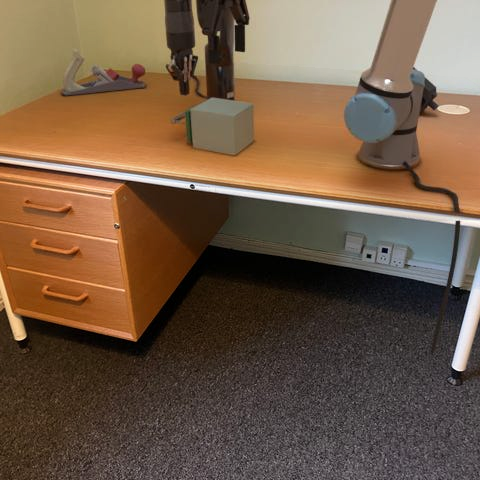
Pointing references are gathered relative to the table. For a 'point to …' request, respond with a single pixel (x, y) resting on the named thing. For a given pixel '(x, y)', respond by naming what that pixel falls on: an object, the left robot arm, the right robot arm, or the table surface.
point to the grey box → (222, 125)
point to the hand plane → (105, 80)
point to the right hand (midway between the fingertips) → (227, 57)
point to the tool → (428, 95)
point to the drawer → (187, 116)
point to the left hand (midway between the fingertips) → (184, 94)
